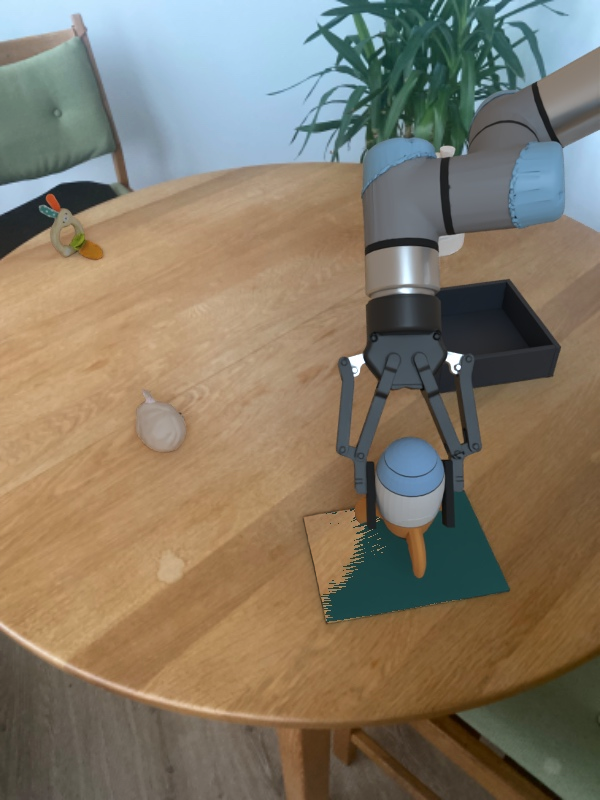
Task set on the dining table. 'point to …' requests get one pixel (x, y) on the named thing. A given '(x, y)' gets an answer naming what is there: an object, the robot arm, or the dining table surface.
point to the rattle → (64, 220)
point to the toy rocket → (408, 493)
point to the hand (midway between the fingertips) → (409, 525)
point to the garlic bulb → (159, 424)
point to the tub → (494, 335)
